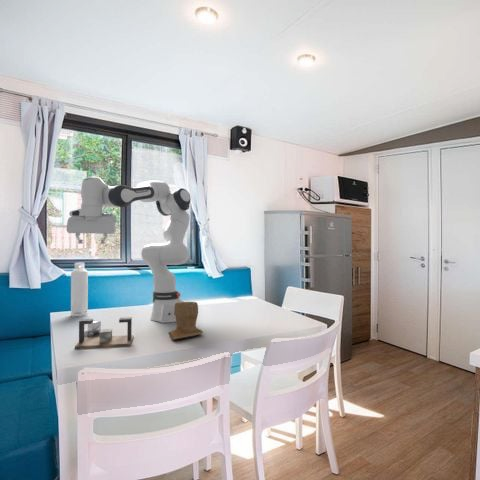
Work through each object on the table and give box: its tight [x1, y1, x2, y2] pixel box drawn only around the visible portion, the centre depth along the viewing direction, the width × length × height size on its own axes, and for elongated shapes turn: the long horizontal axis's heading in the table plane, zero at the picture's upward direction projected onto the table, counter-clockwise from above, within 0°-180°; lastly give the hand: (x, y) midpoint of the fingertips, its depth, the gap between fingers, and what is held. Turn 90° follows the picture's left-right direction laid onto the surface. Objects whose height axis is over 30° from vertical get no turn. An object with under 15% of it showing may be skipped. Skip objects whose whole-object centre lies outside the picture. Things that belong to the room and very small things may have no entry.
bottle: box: [70, 261, 89, 317], centre depth 176 cm, size 8×8×28 cm
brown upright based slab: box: [168, 301, 204, 341], centre depth 141 cm, size 15×12×15 cm
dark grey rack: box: [74, 316, 134, 350], centre depth 131 cm, size 20×11×10 cm, turn 102°
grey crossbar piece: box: [87, 319, 102, 337], centre depth 142 cm, size 12×5×5 cm, turn 11°
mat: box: [84, 330, 100, 337], centre depth 142 cm, size 9×9×1 cm
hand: (91, 243), depth 148 cm, fingers open, 8 cm apart
